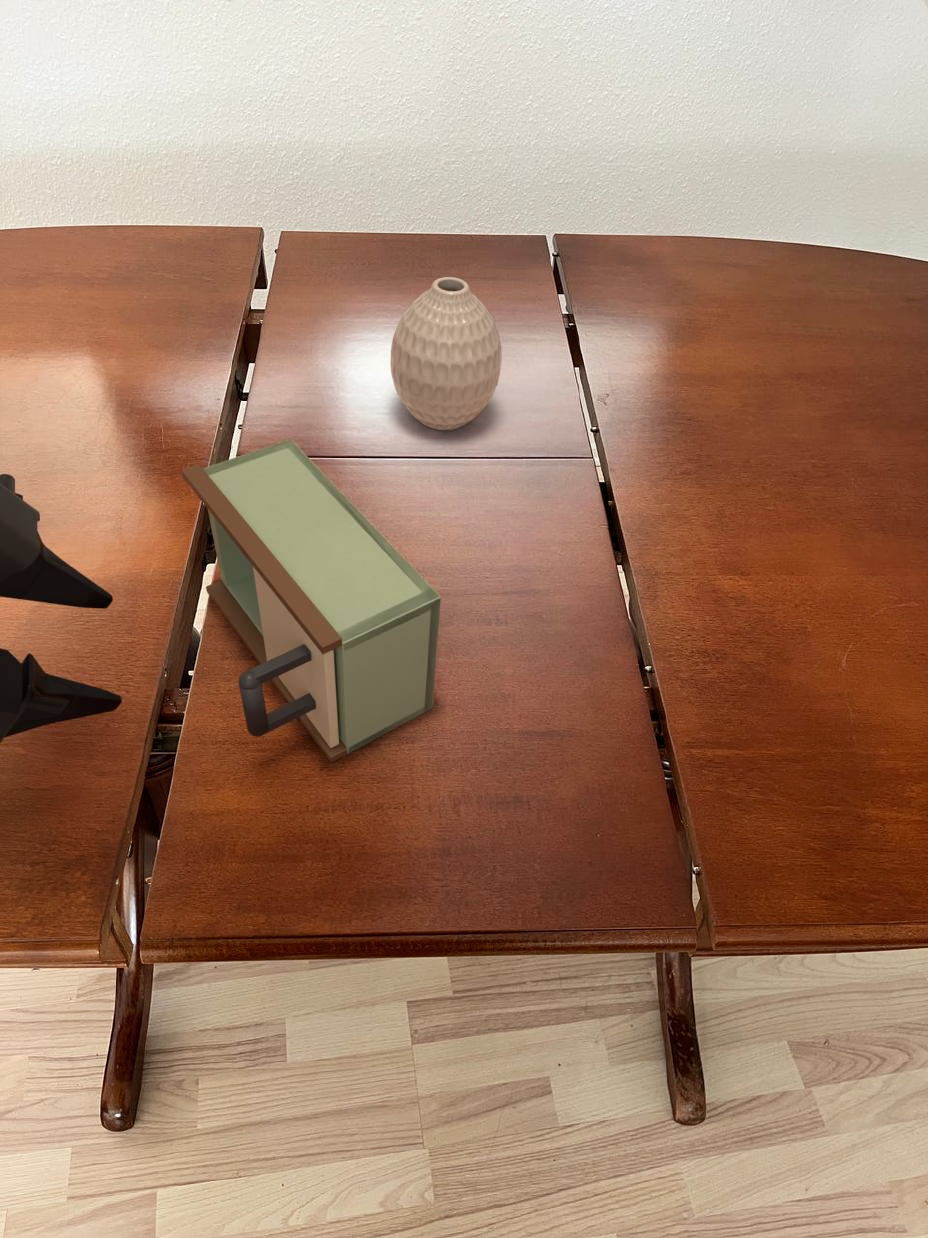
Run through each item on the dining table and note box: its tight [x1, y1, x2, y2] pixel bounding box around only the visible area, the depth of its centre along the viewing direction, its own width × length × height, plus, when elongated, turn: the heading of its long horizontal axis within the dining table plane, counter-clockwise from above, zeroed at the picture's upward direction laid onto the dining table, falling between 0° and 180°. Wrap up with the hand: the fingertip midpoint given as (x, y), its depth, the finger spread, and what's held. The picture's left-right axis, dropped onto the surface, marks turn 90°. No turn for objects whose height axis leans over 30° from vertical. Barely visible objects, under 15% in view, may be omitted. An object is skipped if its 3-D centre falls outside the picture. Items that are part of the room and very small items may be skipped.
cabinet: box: [180, 438, 442, 764], centre depth 73 cm, size 10×23×15 cm, turn 36°
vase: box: [390, 276, 503, 431], centre depth 99 cm, size 13×13×17 cm
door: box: [238, 567, 339, 748], centre depth 67 cm, size 6×11×12 cm, turn 36°
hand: (114, 650), depth 58 cm, fingers open, 9 cm apart
